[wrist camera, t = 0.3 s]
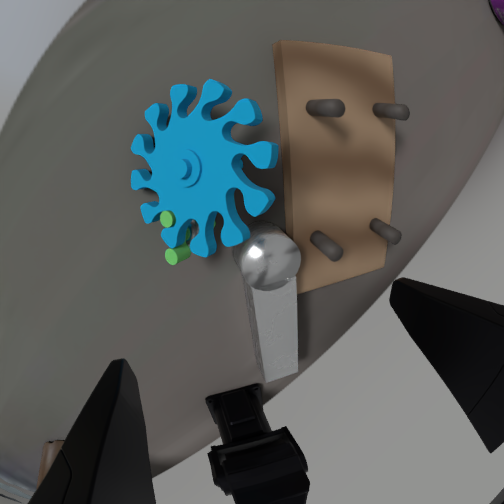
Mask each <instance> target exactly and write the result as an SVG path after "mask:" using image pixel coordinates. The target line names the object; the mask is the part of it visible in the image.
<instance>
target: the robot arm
mask: <svg viewBox="0 0 504 504" xmlns="http://www.w3.org/2000/svg"><path fill="white" fill-rule="evenodd" d="M389 301H390V305H391V307H392V308H393V309H394V311H395V313H396V314H397V316H398V318H399V319H400V321H401V322H402V324H403V325H404V327H405V329H406V330H407V332H408V333H409V335H410V336H411V338H412V339H413V341H414V342H415V343H416V345H417V346H418V347H419V348H420V350H421V351H422V353H423V354H424V355H425V356H426V358H427V359H428V361H429V362H430V363H431V365H432V366H433V367H434V369H435V370H436V371H437V373H438V374H439V376H440V377H441V379H442V380H443V381H444V383H445V384H446V386H447V387H448V388H449V390H450V391H451V393H452V394H453V396H454V397H455V399H456V400H457V402H458V403H459V405H460V406H461V408H462V409H463V411H464V412H465V414H466V415H467V417H468V419H469V420H470V422H471V423H472V425H473V427H474V428H475V430H476V431H477V433H478V435H479V436H480V438H481V439H482V441H483V443H484V445H485V446H486V448H487V449H488V451H489V452H490V453H492V452H493V451H494V450H496V449H497V448H498V447H499V446H500V445H501V444H502V443H503V442H504V305H500V304H496V303H493V302H490V301H486V300H482V299H479V298H476V297H472V296H468V295H465V294H462V293H458V292H454V291H451V290H447V289H444V288H440V287H436V286H433V285H429V284H426V283H422V282H419V281H415V280H411V279H408V278H399V279H397V280H395V281H394V282H393V284H392V289H391V294H390V299H389ZM205 400H206V404H207V406H208V408H209V411H210V413H211V415H212V418H213V420H214V422H215V424H217V425H218V429H219V432H220V435H221V439H222V442H223V445H218V446H211V450H212V451H210V452H209V453H208V457H209V461H210V465H211V470H212V476H213V481H214V484H215V485H216V486H218V487H220V488H221V489H222V491H224V493H225V495H226V496H228V495H231V494H232V496H233V498H234V501H235V504H306V500H307V495H308V492H309V486H310V481H309V479H308V477H307V475H306V472H308V466H307V462H306V459H305V456H304V454H303V452H302V450H301V449H300V447H299V446H298V444H297V443H296V441H295V439H294V438H293V436H292V435H291V433H290V431H289V430H288V428H287V427H286V426H285V427H282V428H281V429H278V430H275V431H272V430H271V428H270V426H269V423H268V421H267V419H266V416H265V414H264V412H263V405H262V397H261V389H260V386H259V384H254V385H251V386H247V387H244V388H240V389H237V390H233V391H229V392H225V393H221V394H217V395H213V396H209V397H207V398H206V399H205ZM61 449H62V450H61ZM61 449H60V450H59V452H58V454H57V456H56V458H55V459H54V461H53V463H52V465H51V467H50V468H49V470H48V472H47V474H46V475H45V477H44V479H43V480H42V482H41V483H40V485H39V487H38V488H37V490H36V491H35V493H34V495H33V496H32V498H31V499H30V501H29V503H28V504H156V500H155V495H154V489H153V483H152V476H151V469H150V462H149V454H148V445H147V435H146V426H145V421H144V416H143V411H142V405H141V400H140V394H139V388H138V382H137V379H136V376H135V374H134V373H133V371H132V369H131V367H130V366H129V364H128V362H127V361H126V360H125V359H117V360H113V361H111V363H110V364H109V366H108V367H107V369H106V371H105V372H104V374H103V375H102V377H101V379H100V380H99V382H98V384H97V385H96V387H95V389H94V390H93V392H92V394H91V395H90V397H89V399H88V400H87V402H86V404H85V405H84V407H83V409H82V411H81V412H80V414H79V416H78V418H77V419H76V421H75V423H74V425H73V426H72V428H71V430H70V432H69V434H68V435H67V437H66V439H65V441H64V443H63V445H62V446H61ZM490 504H504V488H503V489H502V491H501V492H500V493H499V494H498V495H497V496H496V497H495V498H494V500H493V501H492V502H491V503H490Z"/></svg>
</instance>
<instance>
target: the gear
mask: <svg viewBox="0 0 504 504" xmlns="http://www.w3.org/2000/svg"><path fill="white" fill-rule="evenodd" d="M231 94H232V91H231V89H230V88H229V87H228V86H226V85H225V84H223V83H220V82H218V81H215V80H212V79H209V80H208V81H207V82H206V83H205V84H204V87H203V91H202V95H201V98H200V101H199V103H198V105H197V106H196V108H195V109H194V110H193V111H192V112H191V114H190V115H189V116H187V108H188V106H189V105H190V104H191V103H192V101H193V100H194V99H195V97H196V95H197V88H196V87H193V86H189V85H185V84H178V85H174V86H172V88H171V91H170V97H171V100H172V114H171V119H170V122H169V125H168V127H166V122H167V118H168V115H169V108H168V106H167V105H166V104H161V103H155V104H153V105H151V106H150V107H149V108H148V109H147V110H146V111H145V118H146V120H147V121H148V122H149V124H150V125H151V127H152V129H153V132H154V136H155V149H154V146H153V139H152V137H151V136H150V135H149V134H137V135H136V137H135V139H134V141H133V143H132V146H131V150H132V152H133V153H134V154H138V155H141V156H142V157H144V158H145V159H146V161H147V162H148V164H149V165H150V167H151V169H152V176H151V174H150V173H149V171H148V170H146V169H139V170H133V171H132V174H131V187H132V189H134V190H139V189H144V188H150V189H152V190H154V191H155V192H157V194H158V195H159V203H158V202H156V201H153V202H148V203H144V204H142V205H141V212H142V216H143V218H144V221H145V223H152V222H155V221H158V220H160V221H161V223H162V225H163V226H164V227H166V228H164V229H163V230H162V233H161V237H162V239H163V240H164V241H165V243H166V244H167V245H168V246H169V247H170V248H169V249H167V250H166V252H165V257H166V260H167V262H168V263H169V264H171V265H175V264H177V263H179V262H181V261H183V260H185V259H187V258H189V257H190V255H191V252H193V253H194V254H196V255H199V256H202V257H208V256H210V255H212V254H214V253H215V252H216V249H217V244H216V241H215V237H214V229H213V228H214V226H215V225H216V222H215V218H216V215H217V212H219V213H220V214H221V215H222V216H223V218H224V225H223V228H222V231H221V240H222V242H223V244H224V245H225V246H234V245H237V244H239V243H241V242H243V241H245V240H247V239H249V238H250V231H249V228H248V227H247V226H246V225H245V224H244V223H243V221H242V220H241V219H240V217H239V215H238V213H237V210H236V206H235V200H234V192H235V190H236V188H238V189H240V190H241V192H242V193H243V197H244V205H245V208H246V210H247V212H248V213H249V214H250V215H252V216H254V217H256V216H258V215H261V214H263V213H264V212H266V211H267V210H268V209H269V208H270V206H271V205H272V204H273V202H274V200H275V199H276V198H275V196H274V194H273V193H272V192H271V191H270V190H268V189H265V188H261V187H259V186H257V185H255V184H254V183H252V182H251V181H250V180H249V179H248V178H247V177H246V175H245V174H244V172H243V171H242V168H243V162H242V160H241V157H242V156H243V155H247V157H248V158H249V159H250V161H251V162H252V163H253V165H254V166H256V167H257V168H260V169H267V168H274V167H275V165H276V163H277V159H278V145H277V144H276V143H273V142H267V141H259V142H257V143H255V144H251V145H244V144H241V143H239V142H236V141H234V140H233V139H232V137H231V128H232V127H233V125H235V124H236V123H240V124H244V125H249V126H256V125H258V124H260V123H261V122H262V121H263V118H262V113H261V110H260V108H259V106H258V104H257V103H256V101H253V100H251V99H242V100H240V101H238V102H237V103H236V105H235V106H234V108H233V109H232V110H231V111H230V112H229V113H227V114H226V115H225V116H223V117H221V118H218V119H215V120H212V119H211V116H210V113H211V110H212V108H213V107H214V106H215V105H217V104H221V103H224V102H226V101H227V100H228V99H229V98H230V97H231ZM188 244H190V248H189V246H188Z"/></svg>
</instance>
